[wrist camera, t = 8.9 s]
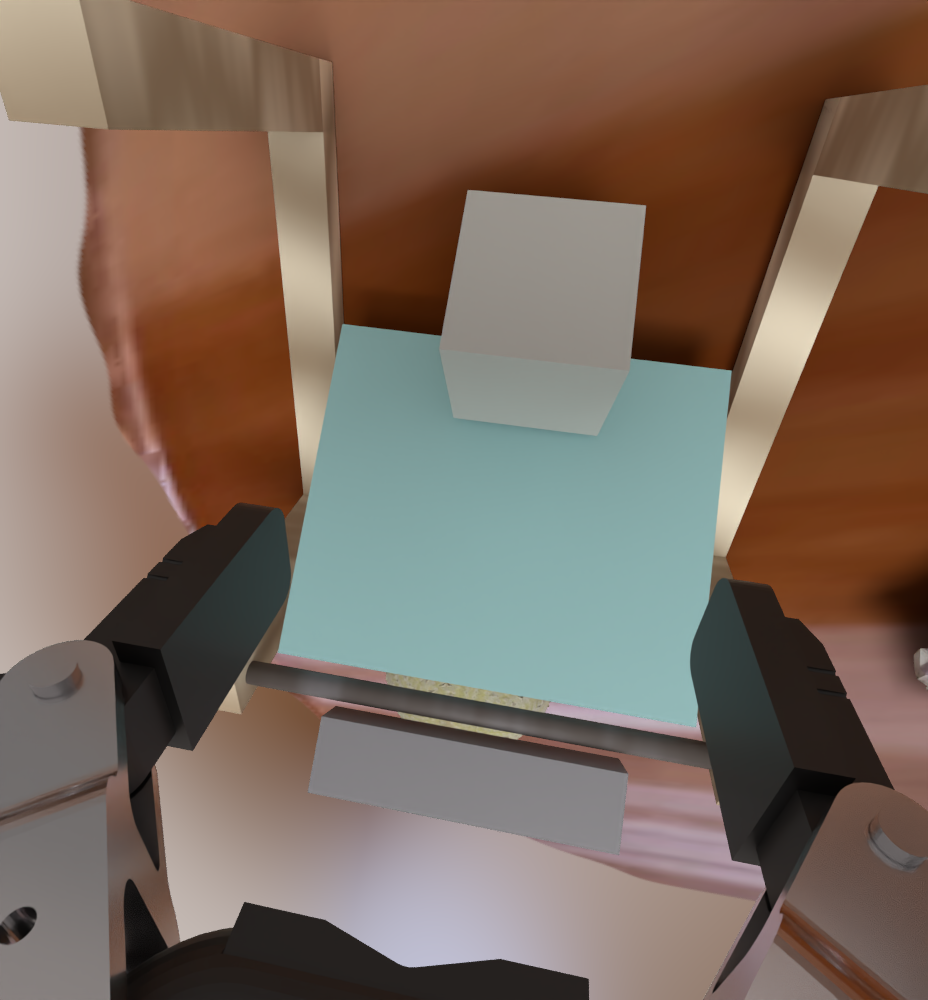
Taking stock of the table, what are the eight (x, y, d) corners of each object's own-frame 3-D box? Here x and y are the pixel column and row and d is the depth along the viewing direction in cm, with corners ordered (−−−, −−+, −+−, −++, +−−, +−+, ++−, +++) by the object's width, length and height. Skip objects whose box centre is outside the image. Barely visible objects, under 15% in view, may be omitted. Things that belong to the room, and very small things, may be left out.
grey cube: (475, 291, 21) (467, 189, 16) (611, 306, 21) (646, 205, 16) (453, 417, 20) (438, 349, 15) (597, 436, 20) (629, 370, 15)
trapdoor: (670, 844, 19) (685, 868, 17) (269, 765, 20) (249, 780, 19) (718, 383, 21) (734, 367, 20) (351, 338, 22) (340, 320, 21)
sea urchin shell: (357, 622, 31) (437, 714, 25) (472, 558, 35) (566, 626, 29) (389, 729, 36) (463, 828, 30) (488, 663, 39) (571, 740, 34)
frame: (275, 57, 20) (-35, -24, 10) (893, 104, 18) (1312, 63, 8) (315, 514, 30) (186, 703, 20) (706, 573, 28) (781, 816, 18)
